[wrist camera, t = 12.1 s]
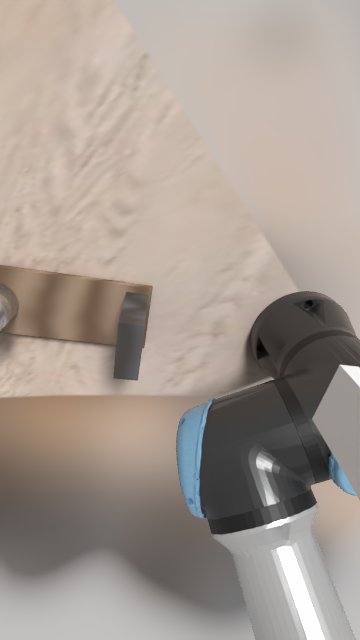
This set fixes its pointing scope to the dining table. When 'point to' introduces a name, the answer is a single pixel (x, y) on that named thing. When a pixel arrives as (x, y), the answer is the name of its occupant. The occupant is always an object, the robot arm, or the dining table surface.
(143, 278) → the dining table surface
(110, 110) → the dining table surface
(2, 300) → the steel tin
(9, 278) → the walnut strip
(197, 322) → the dining table surface
